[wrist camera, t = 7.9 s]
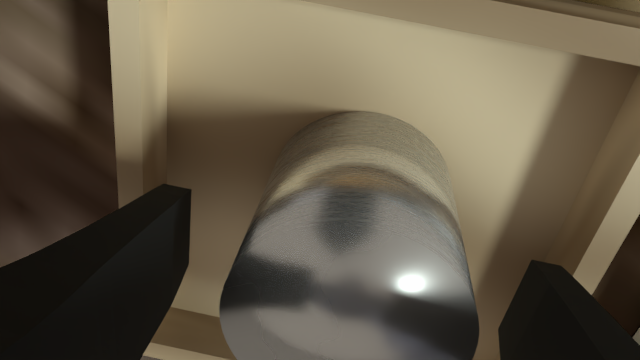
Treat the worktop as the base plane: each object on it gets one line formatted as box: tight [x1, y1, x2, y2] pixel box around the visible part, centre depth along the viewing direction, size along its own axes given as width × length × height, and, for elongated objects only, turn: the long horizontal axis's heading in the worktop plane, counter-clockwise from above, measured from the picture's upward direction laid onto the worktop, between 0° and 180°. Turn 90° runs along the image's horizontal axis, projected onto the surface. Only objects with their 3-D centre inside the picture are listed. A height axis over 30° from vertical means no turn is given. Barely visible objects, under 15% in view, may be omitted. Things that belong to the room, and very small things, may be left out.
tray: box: [108, 0, 640, 360], centre depth 12 cm, size 11×11×2 cm
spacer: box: [219, 111, 479, 360], centre depth 11 cm, size 4×4×4 cm
